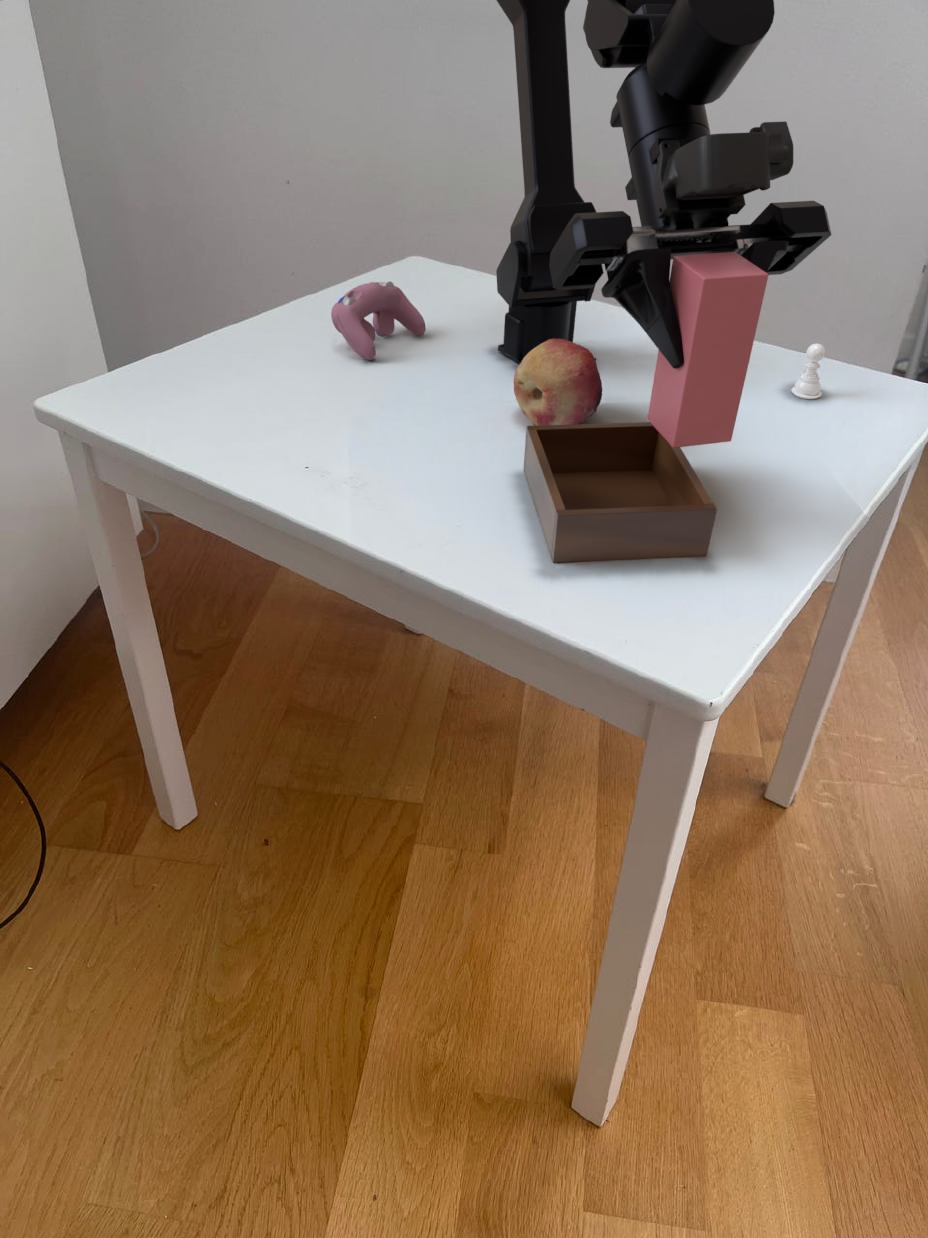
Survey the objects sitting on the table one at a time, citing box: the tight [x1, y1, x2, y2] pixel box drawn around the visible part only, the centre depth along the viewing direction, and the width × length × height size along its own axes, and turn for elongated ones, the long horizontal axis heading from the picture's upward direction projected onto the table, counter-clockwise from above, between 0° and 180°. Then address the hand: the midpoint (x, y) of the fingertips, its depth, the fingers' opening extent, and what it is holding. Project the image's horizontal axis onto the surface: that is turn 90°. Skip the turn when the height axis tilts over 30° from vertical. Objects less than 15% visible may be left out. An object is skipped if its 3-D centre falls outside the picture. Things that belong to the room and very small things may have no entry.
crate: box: [522, 421, 718, 564], centre depth 72 cm, size 13×11×5 cm
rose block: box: [646, 252, 769, 448], centre depth 65 cm, size 5×5×12 cm
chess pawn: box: [791, 342, 826, 400], centre depth 91 cm, size 3×3×5 cm
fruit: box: [513, 339, 603, 426], centre depth 83 cm, size 8×8×8 cm
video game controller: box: [330, 281, 427, 361], centre depth 98 cm, size 10×5×7 cm, turn 144°
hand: (711, 363), depth 64 cm, fingers closed on rose block, 4 cm apart
